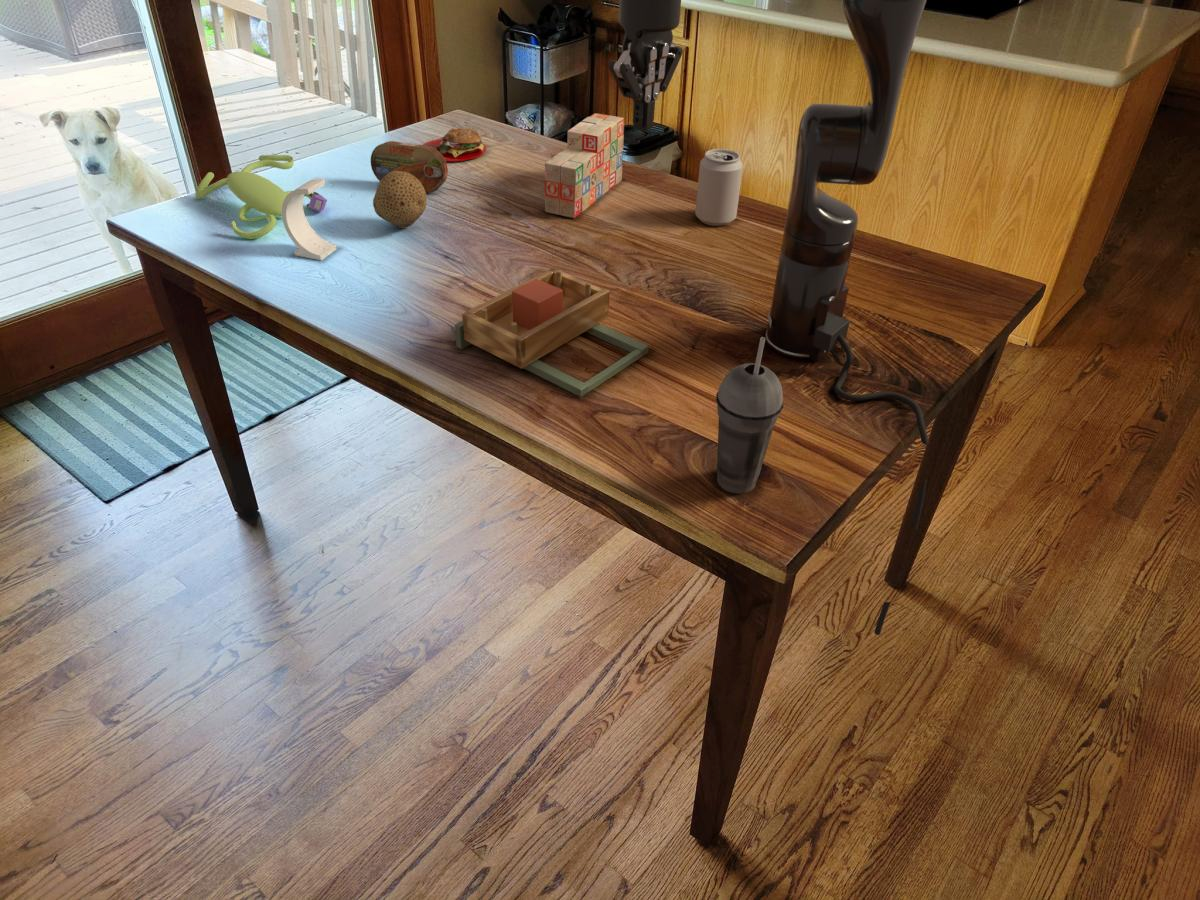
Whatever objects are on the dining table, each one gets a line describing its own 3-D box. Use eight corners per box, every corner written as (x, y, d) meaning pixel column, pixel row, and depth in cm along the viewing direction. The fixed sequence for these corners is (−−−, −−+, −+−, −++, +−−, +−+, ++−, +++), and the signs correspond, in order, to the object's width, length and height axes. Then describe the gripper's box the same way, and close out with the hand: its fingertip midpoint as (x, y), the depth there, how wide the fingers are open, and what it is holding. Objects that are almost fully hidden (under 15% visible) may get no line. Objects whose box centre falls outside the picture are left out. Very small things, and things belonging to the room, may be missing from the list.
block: (562, 321, 124) (562, 289, 120) (539, 334, 121) (538, 302, 117) (536, 309, 126) (536, 278, 123) (512, 322, 123) (511, 290, 120)
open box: (608, 317, 127) (609, 285, 124) (521, 369, 116) (520, 335, 113) (552, 293, 133) (552, 261, 129) (464, 340, 121) (461, 307, 118)
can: (734, 229, 156) (742, 163, 148) (692, 225, 157) (698, 159, 149) (737, 213, 161) (745, 148, 154) (697, 208, 162) (703, 144, 155)
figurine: (286, 172, 171) (280, 144, 167) (345, 219, 155) (340, 188, 151) (190, 193, 162) (182, 164, 158) (242, 245, 146) (235, 213, 142)
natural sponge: (435, 235, 150) (429, 179, 144) (383, 243, 148) (375, 186, 142) (423, 215, 157) (417, 160, 151) (373, 221, 154) (365, 166, 148)
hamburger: (462, 135, 190) (460, 106, 187) (499, 153, 182) (498, 124, 178) (406, 148, 183) (403, 119, 179) (442, 168, 175) (439, 138, 171)
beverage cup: (761, 461, 104) (788, 314, 92) (773, 501, 99) (803, 351, 86) (701, 460, 104) (720, 313, 92) (709, 501, 98) (730, 351, 86)
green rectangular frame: (657, 346, 124) (659, 324, 122) (569, 405, 112) (569, 382, 110) (548, 297, 134) (548, 276, 132) (456, 347, 123) (454, 324, 120)
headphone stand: (321, 260, 142) (307, 189, 135) (289, 254, 144) (274, 183, 136) (336, 249, 146) (324, 178, 138) (306, 243, 147) (292, 173, 140)
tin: (372, 185, 167) (366, 141, 162) (380, 179, 170) (374, 135, 164) (444, 196, 164) (440, 151, 159) (451, 190, 166) (448, 146, 161)
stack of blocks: (575, 219, 157) (575, 151, 150) (544, 212, 159) (543, 145, 152) (622, 180, 173) (625, 116, 165) (593, 174, 175) (595, 111, 167)
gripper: (642, -4, 99) (634, 148, 110) (707, -20, 107) (694, 123, 118) (592, -14, 103) (589, 134, 114) (658, -29, 111) (650, 111, 122)
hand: (643, 128), depth 116 cm, fingers closed
